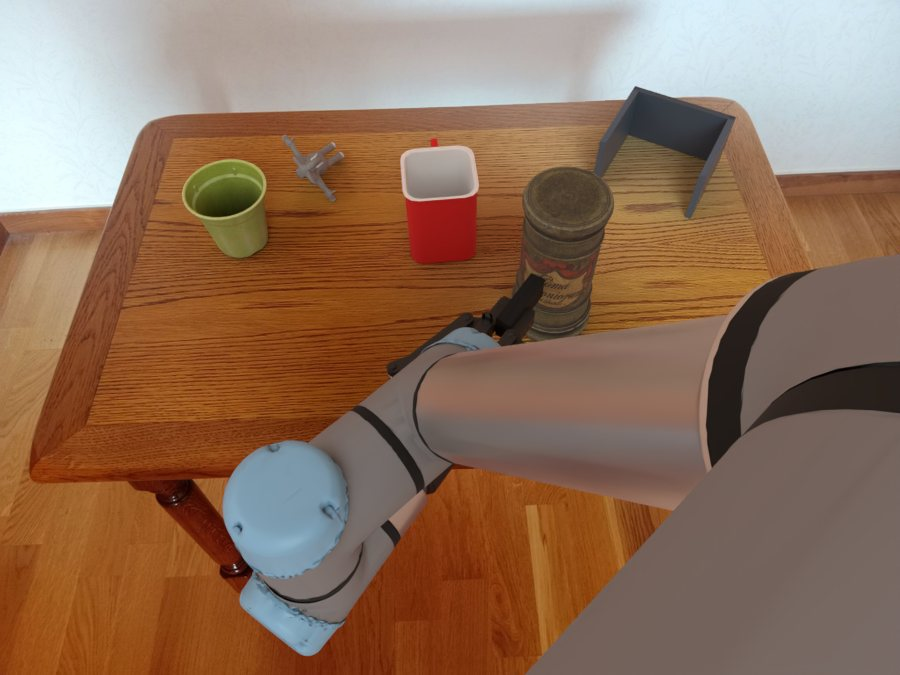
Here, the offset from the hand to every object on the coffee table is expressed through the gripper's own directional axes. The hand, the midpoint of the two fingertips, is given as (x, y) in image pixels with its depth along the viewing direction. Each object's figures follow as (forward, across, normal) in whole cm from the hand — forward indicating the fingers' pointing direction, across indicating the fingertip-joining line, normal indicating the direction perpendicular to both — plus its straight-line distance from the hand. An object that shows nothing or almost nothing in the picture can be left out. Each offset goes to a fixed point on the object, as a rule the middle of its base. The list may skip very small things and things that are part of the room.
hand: (536, 284), depth 70 cm
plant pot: (-7, -36, -10) cm, 38 cm away
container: (+4, 0, -9) cm, 10 cm away
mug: (+8, -17, -9) cm, 21 cm away
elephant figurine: (+6, -36, -10) cm, 37 cm away
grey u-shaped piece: (+31, +1, -9) cm, 33 cm away
